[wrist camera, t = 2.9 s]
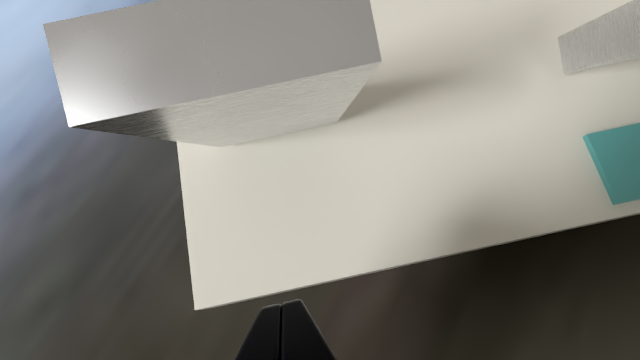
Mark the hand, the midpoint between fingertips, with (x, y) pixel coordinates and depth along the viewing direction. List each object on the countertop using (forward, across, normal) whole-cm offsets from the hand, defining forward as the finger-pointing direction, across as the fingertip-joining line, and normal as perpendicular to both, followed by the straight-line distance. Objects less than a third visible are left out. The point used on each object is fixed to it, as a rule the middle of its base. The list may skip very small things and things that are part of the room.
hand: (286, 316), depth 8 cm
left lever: (+10, 0, -1) cm, 10 cm away
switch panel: (+12, -8, +1) cm, 14 cm away
